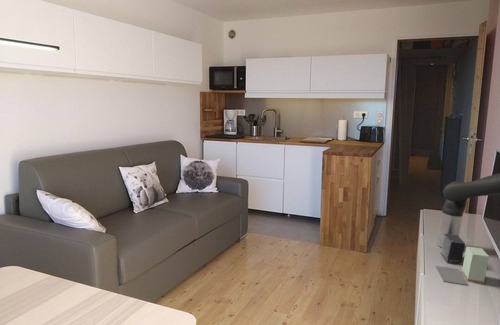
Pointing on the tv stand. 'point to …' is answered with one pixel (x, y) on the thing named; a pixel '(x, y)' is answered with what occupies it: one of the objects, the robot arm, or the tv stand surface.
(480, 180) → the robot arm
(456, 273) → the mat
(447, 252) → the small box
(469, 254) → the sage block
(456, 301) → the tv stand surface
